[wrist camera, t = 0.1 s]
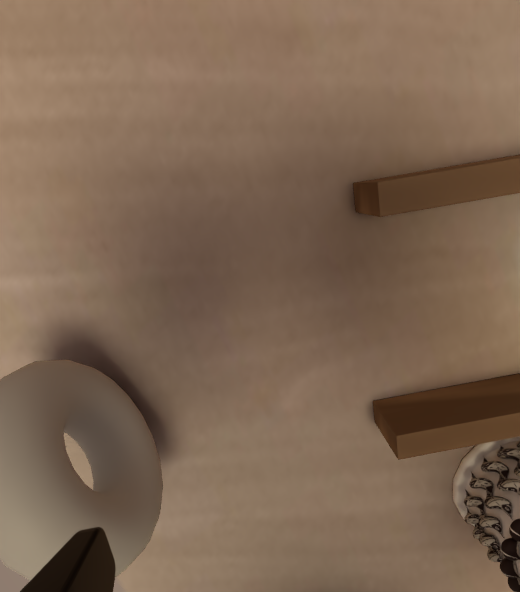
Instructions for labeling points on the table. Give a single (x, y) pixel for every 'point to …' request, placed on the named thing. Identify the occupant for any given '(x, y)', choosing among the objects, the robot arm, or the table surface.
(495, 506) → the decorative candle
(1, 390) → the donut
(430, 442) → the carrier cradle
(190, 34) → the table surface
